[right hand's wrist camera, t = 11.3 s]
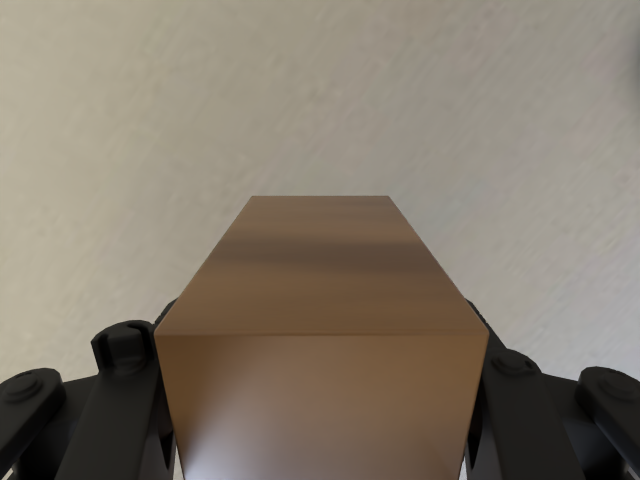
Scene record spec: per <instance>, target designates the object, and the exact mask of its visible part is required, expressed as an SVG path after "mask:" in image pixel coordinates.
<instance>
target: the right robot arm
mask: <svg viewBox="0 0 640 480" xmlns="http://www.w3.org/2000/svg"><path fill="white" fill-rule="evenodd" d="M178 298H179V297H178ZM178 298H176V299H175V300H173V301H172V302H170V303H169V304H168V305H167V306H166V308H165V309H164V310H163V312H162V313H161V316H159V317H158V318H157V320H156V321H155V324H153V325H152V324H151V323H150V322H147V321H143V320H129V321H125V322H121V323H117V324H115V325H112V326H110V327H108V328H105V329H104V330H103V331H101V332H100V333H98V334H97V335H96V336H95V337H94V338H93V339H92V341H91V345H92V349H93V352H94V355H95V359H96V362H97V366H98V369H99V373H98V375H94V376H91V377H86V378H82V379H77V380H73V381H68V382H62V379H61V376H60V373H59V372H57V371H56V370H55V369H50V368H40V369H33V370H29V371H25V372H22V373H20V374H17V375H15V376H14V377H12V378H10V379H8V380H6V381H4V382H2V383H1V384H0V480H2V478H3V477H4V476H5V475H6V473H7V472H8V471H9V470H10V468H12V470H13V473H12V474H11V475H10V476H9V478H8V479H7V480H173V473H174V463H175V453H176V440H175V435H174V430H173V425H172V420H171V416H170V411H169V406H168V401H167V396H166V391H165V387H164V382H163V377H162V372H161V367H160V363H159V358H158V353H157V348H156V343H155V339H154V331H155V329H156V328H157V326H158V325H159V324H160V322H161V321H162V320H163V318H164V317H165V315H166V314H167V313H168V311H169V310H170V309H171V307H172V306H173V304H174V303H175V302H176V300H177V299H178ZM465 299H466V298H465ZM466 301H467V302H468V303H469V305H470V306H471V307H472V309H473V310H474V311H475V313H476V314H477V315H478V317H479V318H480V319H481V321H482V322H483V323H484V325H485V326H486V327H487V329H488V331H489V339H488V344H487V349H486V353H485V358H484V363H483V367H482V372H481V377H480V382H479V386H478V391H477V396H476V401H475V405H474V410H473V415H472V419H471V424H470V429H469V434H468V438H467V443H466V448H465V453H464V456H465V462H466V472H467V480H635V479H634V478H633V477H632V475H631V474H630V473H629V472H628V469H629V467H631V468H632V469H633V470H634V472H635V473H636V474H637V475H638V477H639V478H640V382H639V381H638V380H636V379H634V378H632V377H630V376H628V375H626V374H625V373H622V372H620V371H616V370H614V369H610V368H604V367H597V366H595V367H587V368H585V369H584V370H583V371H581V374H580V377H579V380H578V381H574V380H570V379H565V378H561V377H556V376H551V375H548V374H544V373H542V372H541V370H540V369H539V367H538V366H537V364H536V363H535V362H534V361H532V360H531V359H530V358H529V357H527V356H525V355H523V354H521V353H519V352H517V351H515V350H511V349H507V348H506V347H505V345H504V344H503V343H502V342H501V340H500V339H499V338H498V336H497V335H496V334H495V332H494V331H493V330H492V328H491V327H490V326H489V324H488V323H486V320H485V319H484V318H483V316H482V315H481V314H480V313H479V311H478V310H477V309H476V307H475V306H474V305H473V303H472V302H470V301H469V300H467V299H466ZM463 461H464V457H463Z"/></svg>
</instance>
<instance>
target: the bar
mask: <svg viewBox="0 0 640 480" xmlns="http://www.w3.org/2000/svg"><path fill="white" fill-rule="evenodd" d="M154 339H155V343H156V348H157V353H158V358H159V363H160V367H161V372H162V377H163V382H164V387H165V391H166V396H167V401H168V406H169V411H170V416H171V420H172V425H173V430H174V435H175V440H176V444H177V449H178V454H179V459H180V464H181V468H182V473H183V478H184V480H459V476H460V471H461V467H462V462H463V457H464V453H465V448H466V443H467V438H468V434H469V429H470V424H471V419H472V415H473V410H474V405H475V401H476V396H477V391H478V386H479V382H480V377H481V372H482V367H483V363H484V358H485V353H486V349H487V344H488V339H489V331H488V329H487V327H486V326H485V325H484V323H483V322H482V321H481V319H480V318H479V317H478V315H477V314H476V313H475V311H474V310H473V309H472V307H471V306H470V305H469V303H468V302H467V301H466V299H465V298H464V297H463V295H462V294H461V293H460V291H459V290H458V289H457V287H456V286H455V284H454V283H453V282H452V280H451V279H450V278H449V276H448V275H447V274H446V272H445V271H444V270H443V268H442V267H441V266H440V264H439V263H438V262H437V260H436V259H435V258H434V256H433V255H432V254H431V252H430V251H429V250H428V248H427V247H426V245H425V244H424V243H423V241H422V240H421V239H420V237H419V236H418V235H417V233H416V232H415V231H414V229H413V228H412V227H411V225H410V224H409V223H408V221H407V220H406V219H405V217H404V216H403V215H402V213H401V212H400V211H399V209H398V208H397V207H396V205H395V204H394V202H393V201H392V200H391V198H390V197H389V196H252V197H251V198H250V200H249V201H248V203H247V204H246V205H245V207H244V208H243V209H242V211H241V212H240V214H239V215H238V216H237V218H236V219H235V220H234V222H233V223H232V225H231V226H230V227H229V229H228V230H227V231H226V233H225V234H224V236H223V237H222V238H221V240H220V241H219V242H218V244H217V245H216V247H215V248H214V249H213V251H212V252H211V253H210V255H209V256H208V258H207V259H206V260H205V262H204V263H203V265H202V266H201V267H200V269H199V270H198V271H197V273H196V274H195V276H194V277H193V278H192V280H191V281H190V282H189V284H188V285H187V287H186V288H185V289H184V291H183V292H182V293H181V295H180V296H179V298H178V299H177V300H176V302H175V303H174V304H173V306H172V307H171V309H170V310H169V311H168V313H167V314H166V315H165V317H164V318H163V320H162V321H161V322H160V324H159V325H158V326H157V328H156V329H155V331H154Z"/></svg>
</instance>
